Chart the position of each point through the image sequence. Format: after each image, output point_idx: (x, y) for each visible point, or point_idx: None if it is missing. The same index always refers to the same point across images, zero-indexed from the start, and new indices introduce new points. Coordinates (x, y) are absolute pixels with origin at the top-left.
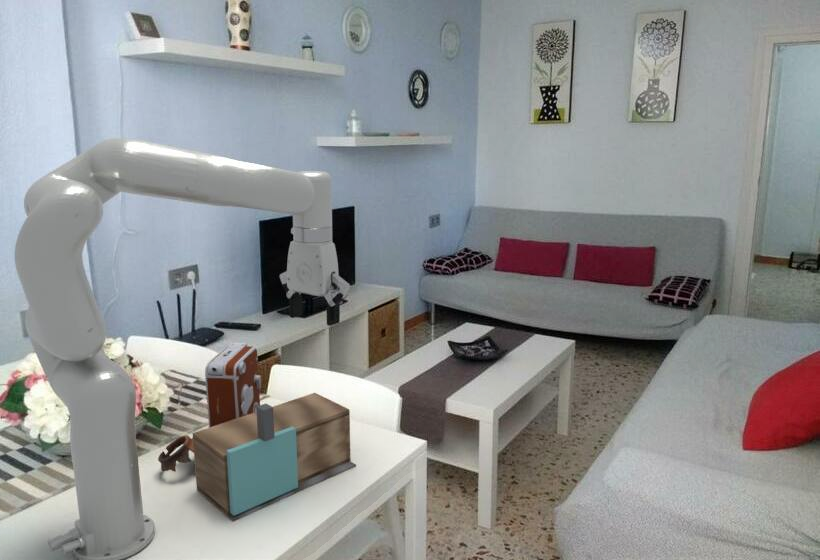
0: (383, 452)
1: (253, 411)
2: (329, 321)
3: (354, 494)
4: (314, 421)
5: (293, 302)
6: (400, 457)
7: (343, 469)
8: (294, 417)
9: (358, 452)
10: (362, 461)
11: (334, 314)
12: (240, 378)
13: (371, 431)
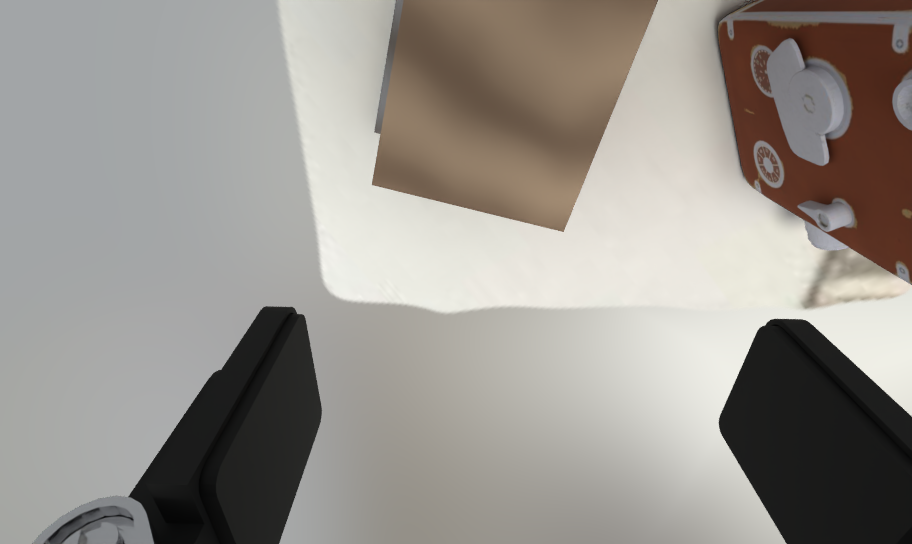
0: (365, 220)
1: (768, 146)
2: (252, 334)
3: (281, 7)
4: (404, 27)
5: (881, 472)
6: (318, 221)
7: (382, 92)
8: (496, 12)
9: None
10: None
11: (183, 419)
12: (887, 71)
13: (454, 286)
